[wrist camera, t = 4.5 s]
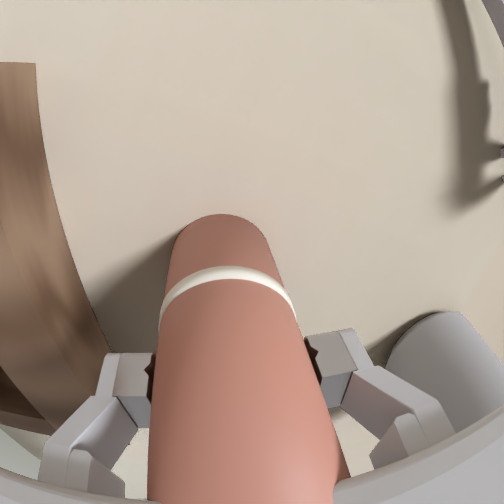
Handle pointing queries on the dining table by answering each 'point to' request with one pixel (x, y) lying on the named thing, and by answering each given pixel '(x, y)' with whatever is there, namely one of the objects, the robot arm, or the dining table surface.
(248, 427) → the peg
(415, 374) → the can
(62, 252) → the board
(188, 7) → the dining table surface
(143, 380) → the robot arm
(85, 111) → the dining table surface
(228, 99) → the dining table surface
